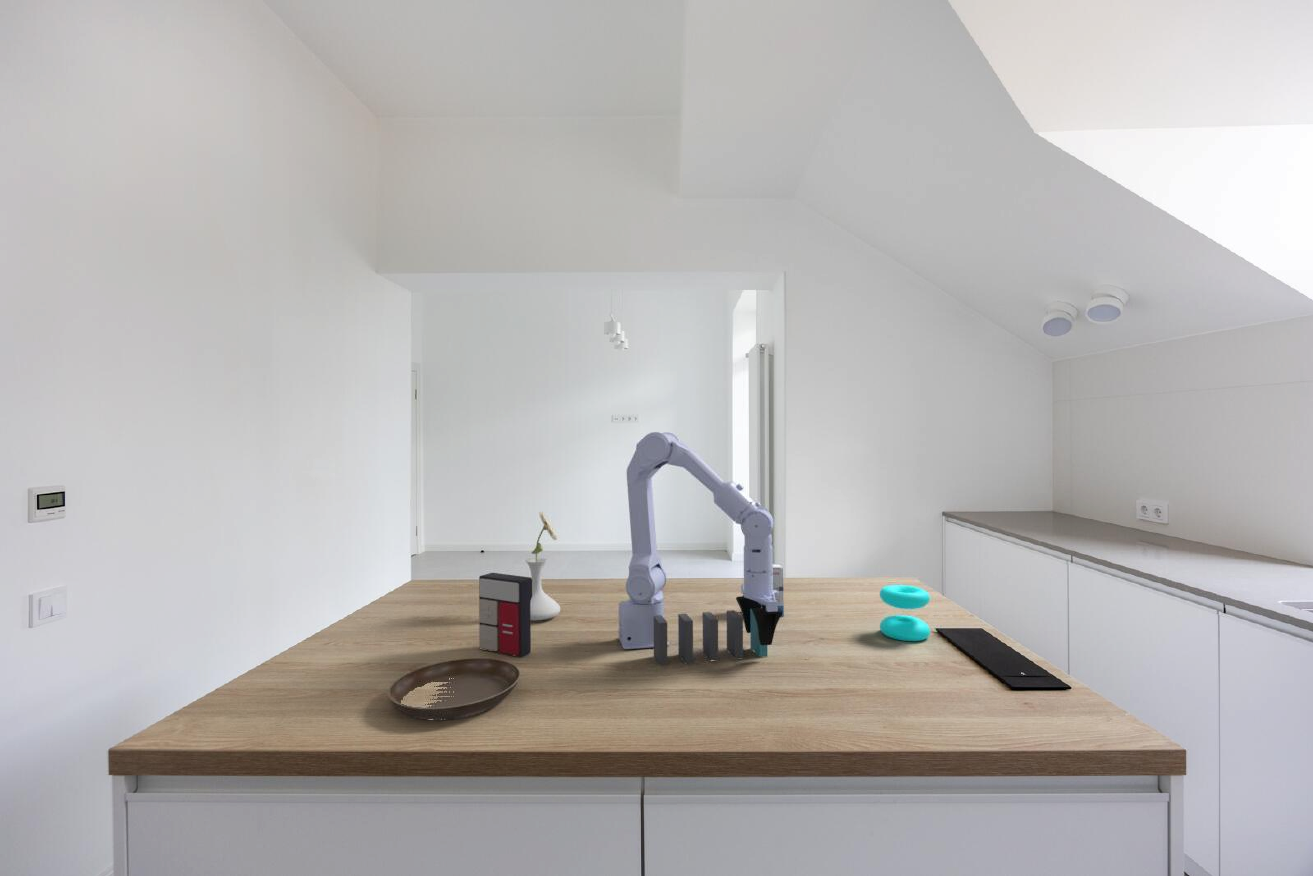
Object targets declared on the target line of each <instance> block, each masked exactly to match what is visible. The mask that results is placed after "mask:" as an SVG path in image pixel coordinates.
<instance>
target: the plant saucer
mask: <svg viewBox="0 0 1313 876" xmlns="http://www.w3.org/2000/svg"><path fill="white" fill-rule="evenodd" d="M520 677H521V671H520V668H519V667H518V666H516V664H513V663H511V662H509V661H506V660H502V659H496V658H485V657H483V658H482V657H480V658H479V657H478V658H477V657H473V658H472V657H471V658H460V659H453V660H452V659H451V660H446V661H441V662H436V663H433V664H429V665H426V666H424V667H421V668H418V669H415V670H412V671H411V672H408V673H407V674H404V675H402V676H400V678H398V679H396V680H395V681H394V682H393V683H392V684H391V685H390V686H389V688H388V691H387V696H388V697H389V698H388V699H390V701H391V702H392V705H394V706H395V707H396V708H397V709H399V711H401V712H403V713H404V714H406V715H408V716H409V715H410V716H409V717H412V716H413V717H412V718H414V717H416V718H415V719H418V718H420V719H419V720H423V719H433V720H432V721H434V720H440V721H445V720H444V719H453V720H456V719H455V718H459V719H462V718H461V717H464V718H467V717H466V716H469V717H471V716H470V715H472V716H474V715H473V714H475V715H479V714H481V713H483V711H484V712H487V711H488V710H490V709H492V708H494V707H496V706H497V705H499V704H500V703H502V701H504V700H505V699H506V698H507V697H508V696H510V693H512V691H513V690H514V689H515V687H516V686H517V684H518V682H519V680H520ZM449 678H450V680H449ZM451 678H452V679H451ZM453 678H454V679H453ZM431 682H448V683H446V684H444V683H443V684H442V685H439V686H436V687H447V689H446V688H445V689H443V688H442V689H438V690H436V691H443V693H439V694H437V696H450V697H442V698H441V697H438V698H437V699H434V698H433V699H434V700H442V701H441V702H440V701H437V702H436V703H435V702H434V703H430V704H429V703H428V704H427V705H432V706H431V707H430V706H429V707H427V708H421V707H412V706H407V705H404V704H401V700H403V697H404V696H406V695H407V694H408V693H409V692H410V691H413V690H414V689H415V688H417V687H422V686H424V685H425V684H427V683H431ZM449 682H450V683H449ZM434 687H435V686H434ZM450 687H451V688H450ZM444 691H447V693H446V692H445V693H444ZM449 691H450V693H449ZM453 691H454V693H453ZM430 696H431V695H430ZM432 696H436V694H435V695H432ZM451 696H452V697H451ZM453 696H454V697H453ZM433 699H432V700H433ZM430 700H431V699H430ZM445 700H446V701H445ZM425 705H426V704H425ZM433 705H434V706H433ZM480 712H481V713H480ZM478 713H479V714H478ZM441 719H442V720H441Z"/></svg>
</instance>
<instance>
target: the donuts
mask: <svg viewBox="0 0 1313 876" xmlns="http://www.w3.org/2000/svg"><path fill="white" fill-rule="evenodd" d="M879 597H880V599H881V600H882V601H881V602H883V603H884V604H885V605H888V606H890V607H894V608H897V609H900V610H901V609H903V610H916V609H921V608H924V607H926V606H927V605H928V604H929V602H930V598H931V597H930V594H929V593H928V592H927V591H926V590H925V589H923V588H920V587H918V586H913V585H906V584H890V585H885V586H883V587H882V588H881V589H880V590H879ZM879 629H880V632H881V633H882V634H884V635H885V636H886V637H888V638H890V639H893V640H899V641H906V642H919V641H924V640H926V639H928V637H929V636H930V634H931V629H930V627H929V625H928V624H927V623H926V622H925V621H924V620H922V619H920V618H918V617H915V616H911V615H903V614H894V615H889V616H887V617H884V618H883V619H882V620H881V621H880V624H879Z"/></svg>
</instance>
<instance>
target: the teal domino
mask: <svg viewBox="0 0 1313 876" xmlns="http://www.w3.org/2000/svg"><path fill="white" fill-rule="evenodd" d="M750 630H751V633H750V650H752V651H753V650H754V651H755V652H754V651H753V652H754V653H755V654H756V656H758V655H759V656H758V657H759V658H762V657H761V656H767V657H768V645H761V644H760V641H759V635H758V627H757V622H756V619H755V616H754V614H753V612H752V609H750Z"/></svg>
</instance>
